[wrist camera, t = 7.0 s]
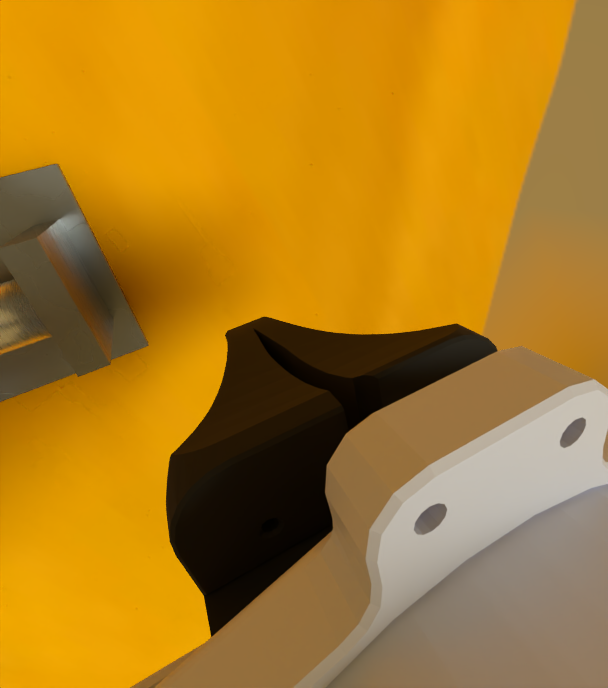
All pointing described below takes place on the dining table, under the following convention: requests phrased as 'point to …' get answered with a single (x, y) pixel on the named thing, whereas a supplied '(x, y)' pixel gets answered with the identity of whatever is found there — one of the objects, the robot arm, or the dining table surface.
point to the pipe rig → (55, 288)
